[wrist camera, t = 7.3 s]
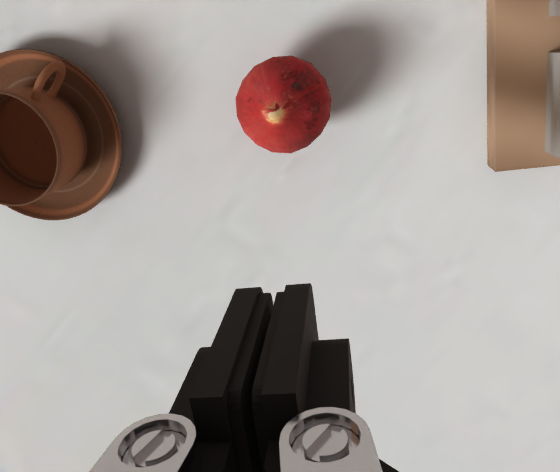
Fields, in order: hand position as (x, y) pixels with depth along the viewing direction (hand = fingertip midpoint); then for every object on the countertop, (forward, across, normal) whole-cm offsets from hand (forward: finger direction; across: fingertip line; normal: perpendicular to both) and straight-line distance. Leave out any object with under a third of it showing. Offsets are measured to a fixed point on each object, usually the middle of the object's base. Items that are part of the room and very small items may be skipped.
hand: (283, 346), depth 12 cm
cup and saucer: (+28, +20, -3) cm, 34 cm away
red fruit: (+27, +2, -3) cm, 28 cm away
